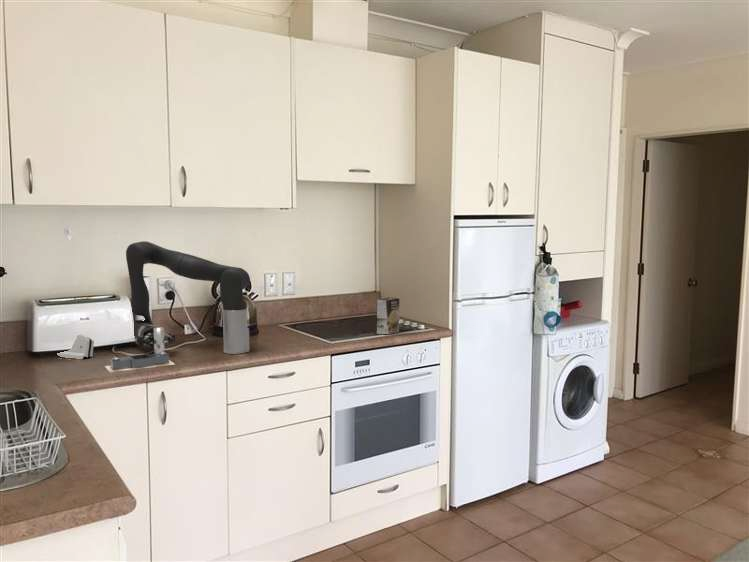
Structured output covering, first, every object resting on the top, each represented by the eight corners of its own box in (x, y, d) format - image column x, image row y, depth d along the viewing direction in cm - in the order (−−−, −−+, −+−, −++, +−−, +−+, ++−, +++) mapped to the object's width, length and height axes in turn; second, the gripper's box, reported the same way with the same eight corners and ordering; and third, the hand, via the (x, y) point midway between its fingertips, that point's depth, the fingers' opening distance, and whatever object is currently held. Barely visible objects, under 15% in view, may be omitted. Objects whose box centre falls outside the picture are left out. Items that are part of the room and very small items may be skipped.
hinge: (48, 356, 244) (54, 331, 246) (58, 358, 248) (64, 333, 250) (82, 360, 238) (88, 334, 240) (91, 362, 242) (97, 336, 244)
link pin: (163, 358, 243) (162, 326, 242) (165, 359, 240) (164, 328, 239) (153, 359, 241) (152, 327, 240) (155, 361, 238) (154, 329, 237)
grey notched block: (164, 360, 236) (164, 350, 236) (170, 364, 230) (169, 354, 230) (109, 366, 226) (109, 356, 226) (113, 370, 220) (113, 360, 219)
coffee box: (387, 335, 290) (388, 300, 288) (376, 333, 294) (376, 299, 292) (399, 332, 297) (399, 298, 296) (388, 330, 301) (388, 297, 299)
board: (167, 360, 238) (167, 358, 238) (175, 366, 230) (175, 364, 230) (104, 368, 226) (104, 366, 226) (110, 374, 218) (110, 372, 218)
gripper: (130, 327, 247) (140, 334, 234) (168, 323, 255) (179, 330, 241) (131, 346, 248) (140, 354, 235) (168, 342, 256) (180, 349, 242)
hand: (160, 342), depth 238 cm, fingers open, 7 cm apart
